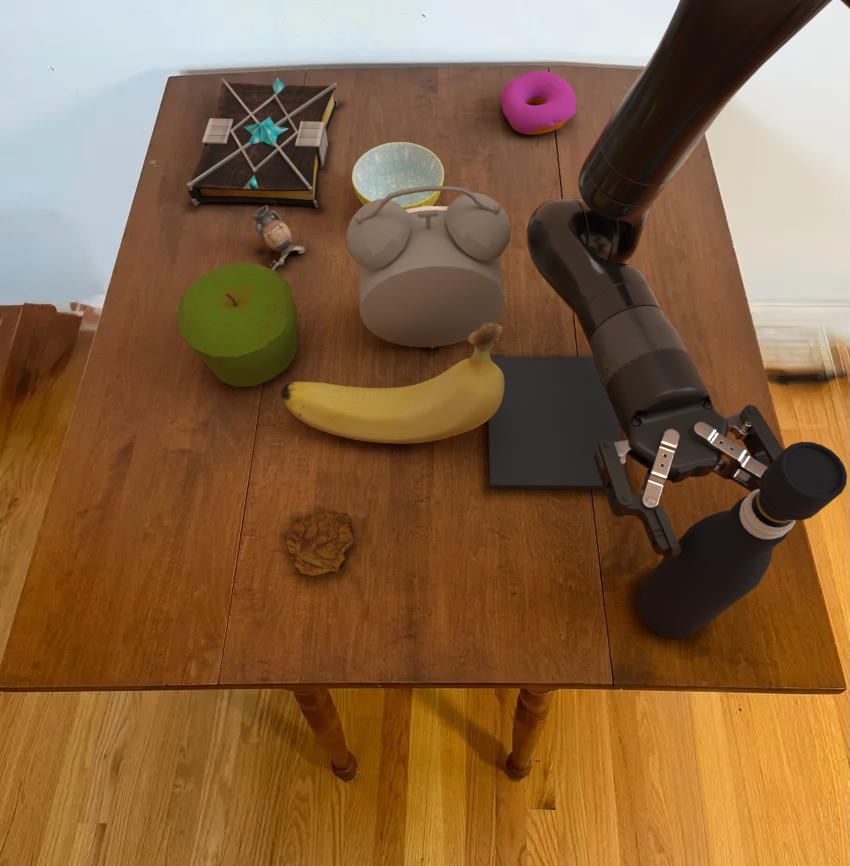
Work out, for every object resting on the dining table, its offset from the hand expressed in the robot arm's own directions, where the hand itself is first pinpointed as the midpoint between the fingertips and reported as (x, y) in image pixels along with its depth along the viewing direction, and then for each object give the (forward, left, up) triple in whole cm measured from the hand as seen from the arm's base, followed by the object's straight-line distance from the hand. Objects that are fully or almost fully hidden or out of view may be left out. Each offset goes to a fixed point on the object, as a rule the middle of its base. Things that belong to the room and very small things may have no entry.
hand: (727, 544), depth 54 cm
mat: (+10, -20, -16) cm, 27 cm away
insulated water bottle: (0, 0, -16) cm, 16 cm away
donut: (+9, -70, -16) cm, 72 cm away
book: (+46, -62, -16) cm, 79 cm away
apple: (+44, -28, -16) cm, 55 cm away
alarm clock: (+23, -32, -16) cm, 43 cm away
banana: (+27, -18, -16) cm, 37 cm away
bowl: (+28, -51, -16) cm, 60 cm away
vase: (+43, -45, -16) cm, 64 cm away
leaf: (+34, -5, -16) cm, 38 cm away
